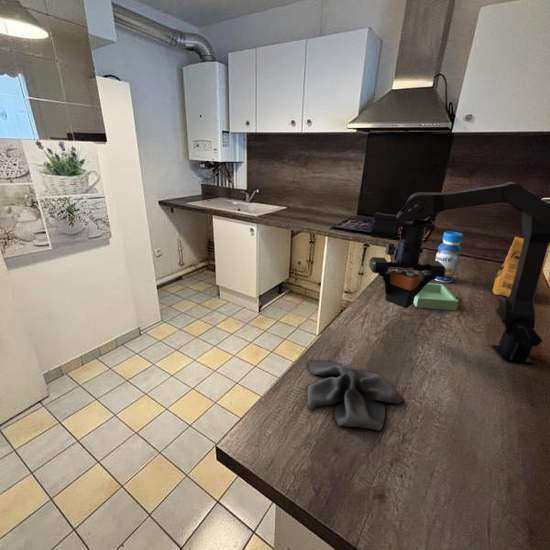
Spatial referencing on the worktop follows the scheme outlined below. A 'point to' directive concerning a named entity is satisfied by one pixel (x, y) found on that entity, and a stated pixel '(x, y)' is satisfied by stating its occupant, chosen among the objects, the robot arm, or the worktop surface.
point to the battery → (402, 288)
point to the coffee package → (510, 269)
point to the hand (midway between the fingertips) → (400, 294)
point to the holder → (435, 298)
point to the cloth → (352, 394)
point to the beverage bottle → (449, 254)
